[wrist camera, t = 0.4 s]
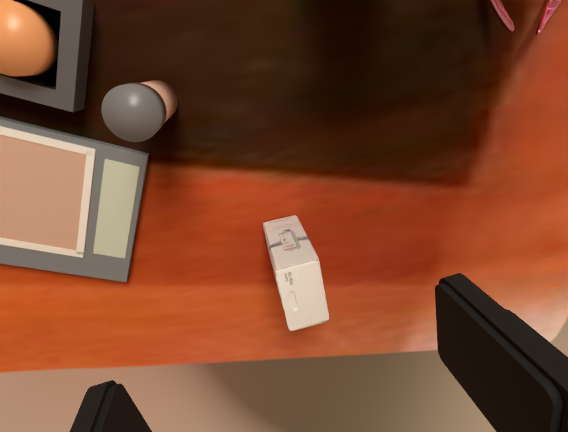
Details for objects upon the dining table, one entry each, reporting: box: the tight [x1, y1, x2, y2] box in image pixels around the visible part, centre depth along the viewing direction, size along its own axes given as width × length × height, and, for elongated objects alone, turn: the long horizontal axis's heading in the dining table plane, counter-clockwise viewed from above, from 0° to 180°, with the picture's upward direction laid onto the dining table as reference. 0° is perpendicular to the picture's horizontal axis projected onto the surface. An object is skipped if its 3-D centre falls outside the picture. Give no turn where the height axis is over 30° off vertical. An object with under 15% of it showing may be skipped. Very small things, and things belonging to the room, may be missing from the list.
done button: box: [0, 0, 58, 76], centre depth 30 cm, size 6×6×2 cm
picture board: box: [0, 116, 149, 282], centre depth 38 cm, size 17×18×1 cm
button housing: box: [0, 0, 94, 112], centre depth 31 cm, size 10×10×3 cm
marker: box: [102, 80, 178, 142], centre depth 31 cm, size 4×4×12 cm
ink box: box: [263, 215, 329, 331], centre depth 41 cm, size 9×5×12 cm, turn 11°
